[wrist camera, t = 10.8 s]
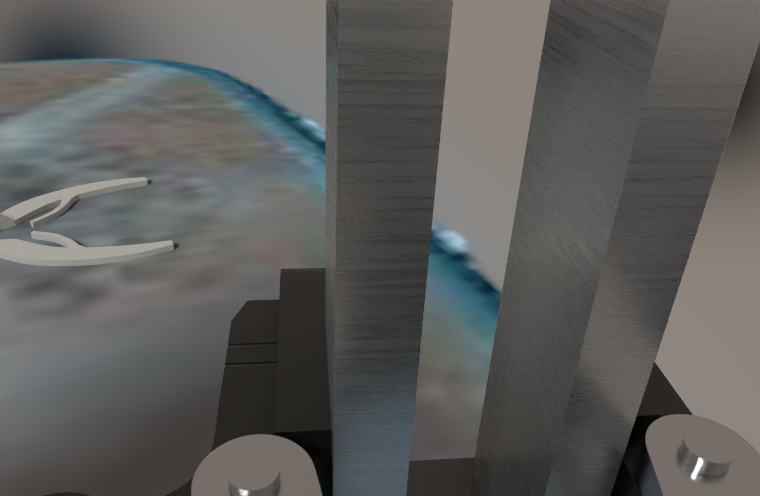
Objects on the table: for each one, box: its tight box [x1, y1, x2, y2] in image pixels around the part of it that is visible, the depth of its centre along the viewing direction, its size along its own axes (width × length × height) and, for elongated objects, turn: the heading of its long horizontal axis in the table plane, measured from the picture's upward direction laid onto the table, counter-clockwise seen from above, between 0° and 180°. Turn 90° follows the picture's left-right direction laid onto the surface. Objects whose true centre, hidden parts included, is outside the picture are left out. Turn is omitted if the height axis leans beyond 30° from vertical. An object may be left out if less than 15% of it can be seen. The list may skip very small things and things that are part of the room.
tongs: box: [325, 0, 760, 496], centre depth 9 cm, size 5×4×18 cm
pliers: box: [0, 177, 174, 266], centre depth 36 cm, size 10×2×15 cm
